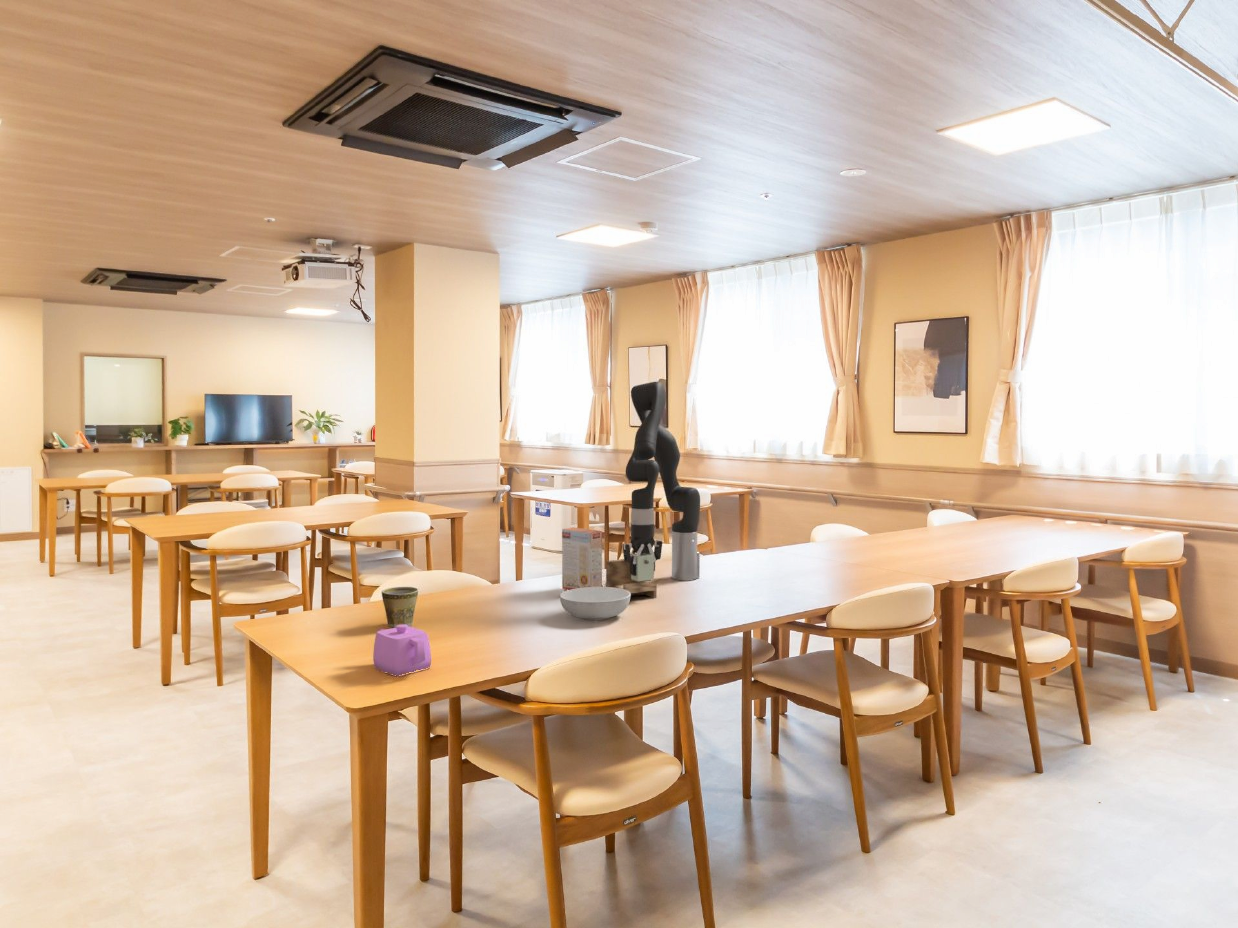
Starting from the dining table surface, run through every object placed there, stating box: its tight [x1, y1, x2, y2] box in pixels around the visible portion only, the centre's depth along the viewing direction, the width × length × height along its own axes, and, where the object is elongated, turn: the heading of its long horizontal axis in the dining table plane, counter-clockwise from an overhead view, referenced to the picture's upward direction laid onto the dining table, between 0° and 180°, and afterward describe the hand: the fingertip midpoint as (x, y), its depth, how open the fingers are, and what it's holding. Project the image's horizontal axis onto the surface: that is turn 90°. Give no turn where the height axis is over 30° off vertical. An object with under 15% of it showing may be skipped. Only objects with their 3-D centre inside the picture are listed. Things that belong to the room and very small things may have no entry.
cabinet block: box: [631, 553, 655, 581], centre depth 263 cm, size 6×5×8 cm
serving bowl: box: [559, 586, 632, 621], centre depth 243 cm, size 21×21×7 cm
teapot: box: [372, 625, 432, 677], centre depth 194 cm, size 18×10×10 cm, turn 45°
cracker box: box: [561, 527, 603, 591], centre depth 278 cm, size 14×6×21 cm, turn 46°
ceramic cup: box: [381, 586, 419, 628], centre depth 234 cm, size 13×10×10 cm
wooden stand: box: [605, 558, 658, 599], centre depth 268 cm, size 16×8×12 cm, turn 120°
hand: (642, 574), depth 264 cm, fingers closed on cabinet block, 6 cm apart
